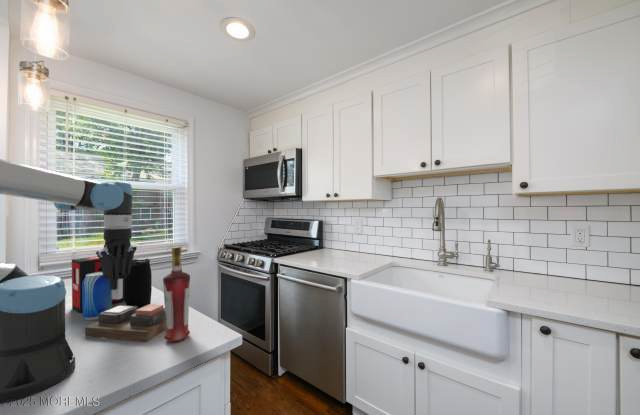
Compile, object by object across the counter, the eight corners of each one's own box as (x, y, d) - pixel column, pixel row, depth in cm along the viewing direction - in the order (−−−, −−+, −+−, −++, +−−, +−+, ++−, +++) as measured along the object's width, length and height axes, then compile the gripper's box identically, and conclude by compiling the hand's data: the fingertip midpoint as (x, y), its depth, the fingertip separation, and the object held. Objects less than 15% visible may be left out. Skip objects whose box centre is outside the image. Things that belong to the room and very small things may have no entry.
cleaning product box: (119, 297, 122) (119, 253, 122) (128, 300, 117) (128, 255, 117) (72, 309, 108) (71, 259, 108) (80, 313, 103) (80, 261, 103)
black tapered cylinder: (155, 304, 112) (154, 257, 112) (144, 312, 103) (144, 261, 103) (132, 305, 111) (132, 258, 111) (120, 314, 102) (119, 262, 102)
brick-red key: (150, 317, 85) (150, 311, 85) (135, 316, 86) (135, 310, 86) (163, 310, 90) (163, 304, 90) (149, 310, 91) (149, 304, 91)
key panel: (145, 342, 80) (145, 321, 80) (85, 336, 84) (85, 317, 84) (178, 322, 94) (178, 305, 94) (125, 318, 98) (124, 302, 98)
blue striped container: (101, 320, 96) (100, 276, 96) (76, 321, 95) (75, 277, 95) (117, 311, 104) (116, 270, 104) (94, 312, 104) (94, 271, 104)
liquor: (162, 337, 83) (161, 247, 83) (188, 331, 87) (187, 245, 87) (165, 347, 77) (164, 250, 77) (192, 339, 81) (191, 247, 81)
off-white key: (118, 318, 87) (118, 312, 87) (104, 317, 88) (104, 311, 88) (132, 312, 92) (132, 306, 92) (119, 311, 93) (119, 305, 93)
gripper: (109, 229, 83) (107, 305, 82) (143, 227, 96) (142, 293, 95) (88, 229, 84) (87, 304, 84) (125, 226, 97) (124, 292, 97)
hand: (117, 298), depth 89 cm, fingers closed
